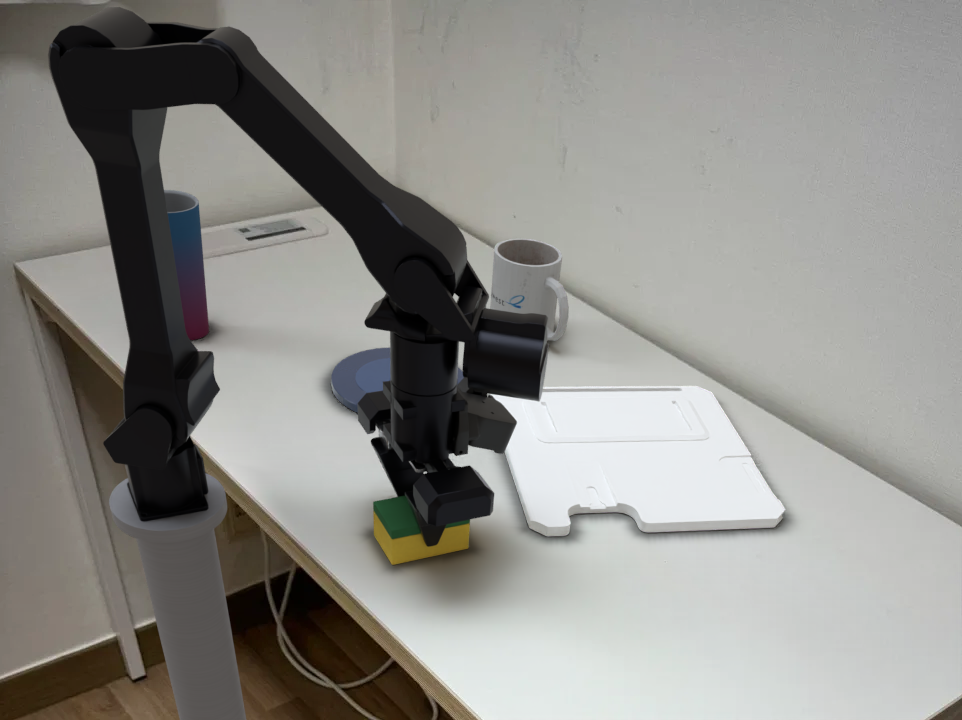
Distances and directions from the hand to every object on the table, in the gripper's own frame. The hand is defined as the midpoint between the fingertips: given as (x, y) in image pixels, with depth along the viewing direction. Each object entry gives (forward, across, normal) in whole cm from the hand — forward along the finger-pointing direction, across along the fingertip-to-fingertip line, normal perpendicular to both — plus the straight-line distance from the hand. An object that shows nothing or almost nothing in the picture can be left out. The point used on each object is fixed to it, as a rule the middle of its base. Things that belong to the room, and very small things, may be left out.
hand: (421, 529), depth 95 cm
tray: (+2, +7, -28) cm, 29 cm away
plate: (+2, +29, -9) cm, 30 cm away
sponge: (+2, 0, 0) cm, 2 cm away
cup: (+2, +49, +11) cm, 50 cm away
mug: (+2, +37, -30) cm, 48 cm away
